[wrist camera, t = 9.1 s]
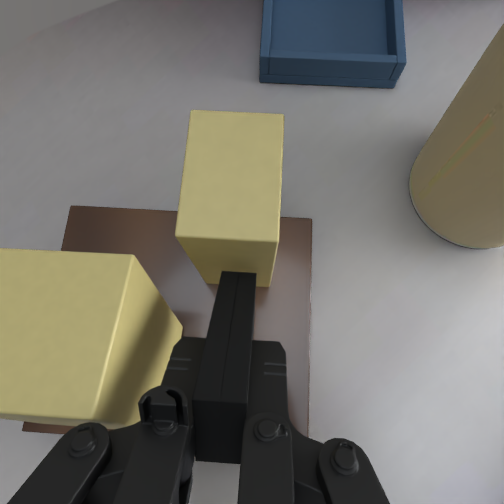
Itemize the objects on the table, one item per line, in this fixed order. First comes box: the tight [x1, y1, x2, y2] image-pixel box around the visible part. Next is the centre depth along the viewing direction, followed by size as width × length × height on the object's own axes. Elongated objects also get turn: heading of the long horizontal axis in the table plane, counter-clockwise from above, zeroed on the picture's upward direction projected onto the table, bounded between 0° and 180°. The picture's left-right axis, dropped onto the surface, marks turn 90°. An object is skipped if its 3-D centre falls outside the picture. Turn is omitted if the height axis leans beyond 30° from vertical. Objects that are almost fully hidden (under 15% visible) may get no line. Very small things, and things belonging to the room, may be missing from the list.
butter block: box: [0, 248, 183, 429], centre depth 15 cm, size 6×5×8 cm
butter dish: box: [259, 0, 406, 88], centre depth 25 cm, size 9×9×2 cm
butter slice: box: [175, 110, 284, 287], centre depth 17 cm, size 4×5×8 cm
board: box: [22, 206, 312, 437], centre depth 20 cm, size 14×12×2 cm
